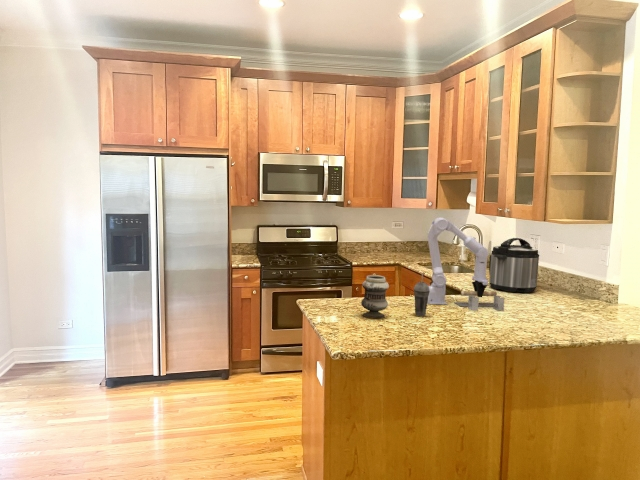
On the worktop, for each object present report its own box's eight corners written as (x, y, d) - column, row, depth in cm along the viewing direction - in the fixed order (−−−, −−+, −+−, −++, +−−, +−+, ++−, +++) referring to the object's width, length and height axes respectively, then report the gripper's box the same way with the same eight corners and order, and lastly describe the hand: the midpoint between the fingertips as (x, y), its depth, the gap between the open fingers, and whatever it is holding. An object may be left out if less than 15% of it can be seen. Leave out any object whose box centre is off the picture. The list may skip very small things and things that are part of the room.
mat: (460, 306, 234) (460, 305, 234) (454, 303, 242) (454, 302, 242) (502, 307, 236) (502, 306, 236) (495, 303, 244) (495, 302, 244)
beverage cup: (429, 314, 217) (431, 272, 215) (427, 318, 210) (430, 274, 208) (413, 312, 219) (415, 270, 217) (411, 316, 212) (413, 272, 210)
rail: (462, 296, 237) (462, 291, 237) (460, 295, 239) (460, 290, 239) (496, 296, 238) (496, 291, 238) (494, 295, 241) (494, 291, 241)
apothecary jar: (370, 320, 202) (372, 279, 201) (355, 313, 213) (357, 275, 211) (392, 318, 208) (394, 278, 206) (377, 311, 219) (379, 273, 217)
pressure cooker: (526, 285, 300) (530, 236, 297) (547, 295, 272) (551, 241, 269) (479, 284, 300) (483, 235, 297) (495, 293, 272) (499, 239, 269)
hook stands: (471, 310, 227) (472, 297, 227) (467, 308, 232) (468, 295, 232) (503, 311, 229) (504, 298, 228) (498, 308, 234) (499, 295, 233)
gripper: (494, 272, 231) (492, 299, 232) (481, 268, 245) (480, 293, 246) (480, 272, 230) (478, 299, 231) (468, 267, 245) (467, 293, 246)
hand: (478, 296), depth 239 cm, fingers closed on rail, 2 cm apart
